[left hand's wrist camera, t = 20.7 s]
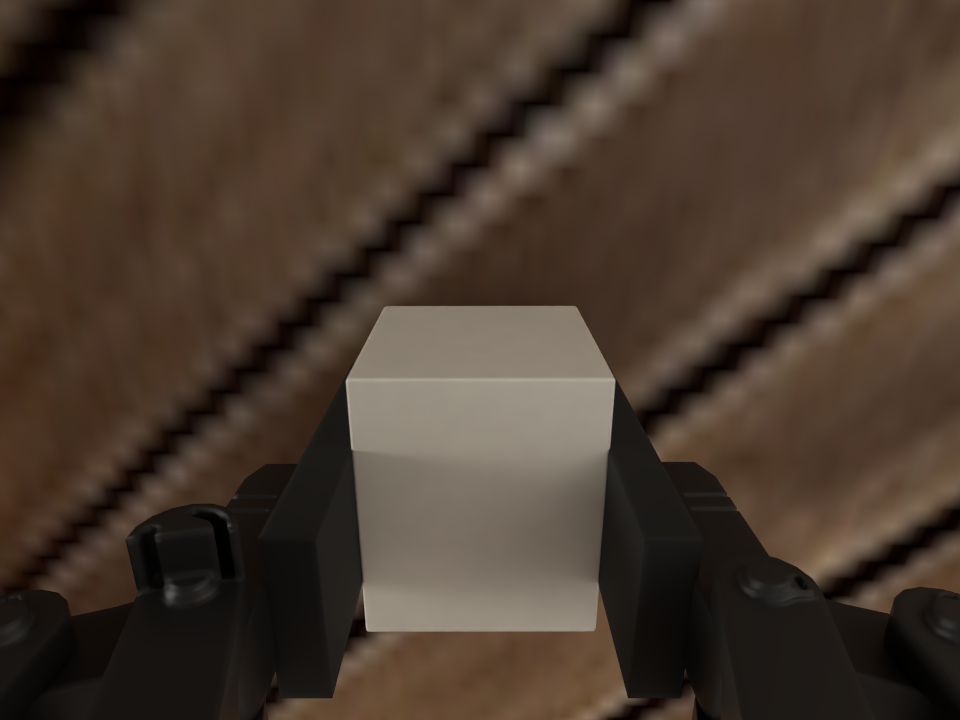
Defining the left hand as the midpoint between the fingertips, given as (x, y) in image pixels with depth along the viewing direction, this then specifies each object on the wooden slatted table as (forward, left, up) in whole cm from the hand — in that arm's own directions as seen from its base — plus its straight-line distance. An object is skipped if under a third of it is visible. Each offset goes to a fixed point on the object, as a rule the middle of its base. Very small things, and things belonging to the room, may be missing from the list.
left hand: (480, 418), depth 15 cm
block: (0, 0, 0) cm, 0 cm away
